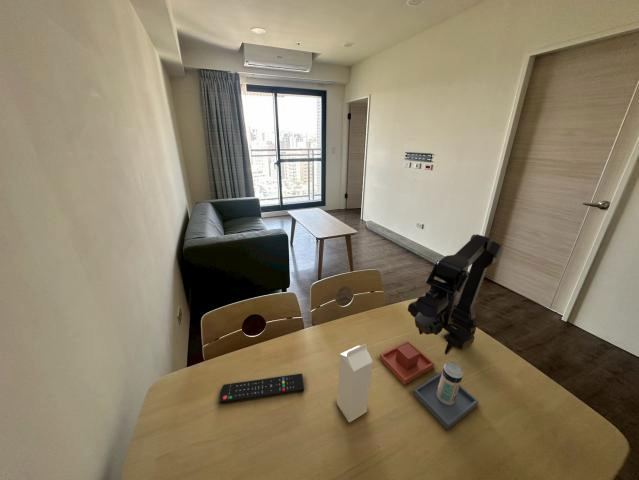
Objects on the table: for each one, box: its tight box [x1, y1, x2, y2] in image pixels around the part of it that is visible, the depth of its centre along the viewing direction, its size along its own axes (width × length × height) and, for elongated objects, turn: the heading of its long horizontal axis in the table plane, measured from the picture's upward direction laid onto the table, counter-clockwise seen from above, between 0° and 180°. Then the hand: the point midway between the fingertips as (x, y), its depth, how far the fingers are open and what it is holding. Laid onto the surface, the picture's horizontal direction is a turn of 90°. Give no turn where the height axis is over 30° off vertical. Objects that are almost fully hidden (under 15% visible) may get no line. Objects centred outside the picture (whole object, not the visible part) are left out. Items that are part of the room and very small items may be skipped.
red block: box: [395, 343, 420, 371], centre depth 83 cm, size 5×5×5 cm
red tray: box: [379, 340, 435, 386], centre depth 84 cm, size 13×11×2 cm
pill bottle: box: [437, 361, 464, 405], centre depth 70 cm, size 5×5×12 cm
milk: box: [336, 343, 374, 423], centre depth 66 cm, size 6×6×22 cm
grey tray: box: [412, 371, 479, 431], centre depth 72 cm, size 13×11×2 cm
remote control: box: [219, 373, 305, 404], centre depth 74 cm, size 5×24×1 cm, turn 100°
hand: (433, 343), depth 78 cm, fingers open, 9 cm apart
